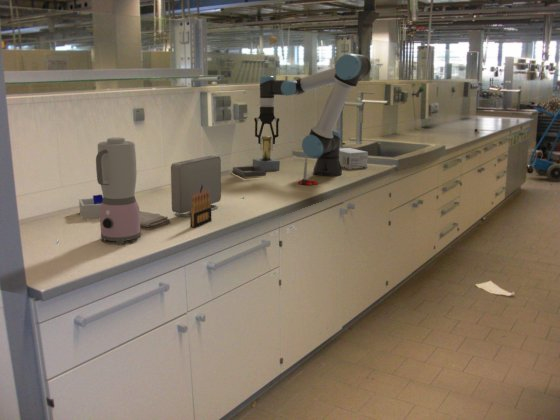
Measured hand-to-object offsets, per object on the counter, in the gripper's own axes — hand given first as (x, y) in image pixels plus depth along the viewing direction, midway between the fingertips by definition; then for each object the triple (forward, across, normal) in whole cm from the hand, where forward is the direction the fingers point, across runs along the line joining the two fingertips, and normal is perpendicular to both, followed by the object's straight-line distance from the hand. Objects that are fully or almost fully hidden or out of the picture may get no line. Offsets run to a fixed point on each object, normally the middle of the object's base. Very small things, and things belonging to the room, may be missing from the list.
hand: (266, 150), depth 297 cm
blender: (+12, +48, +127) cm, 136 cm away
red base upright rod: (+12, -20, +32) cm, 40 cm away
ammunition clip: (+12, +24, +107) cm, 110 cm away
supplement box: (+12, -48, -21) cm, 54 cm away
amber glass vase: (+7, 0, 0) cm, 7 cm away
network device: (+12, +28, +89) cm, 94 cm away
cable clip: (+11, +60, +94) cm, 112 cm away
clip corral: (+11, +60, +94) cm, 112 cm away
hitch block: (+11, 0, 0) cm, 11 cm away
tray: (+11, +9, +12) cm, 19 cm away
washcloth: (+12, +45, +106) cm, 116 cm away
